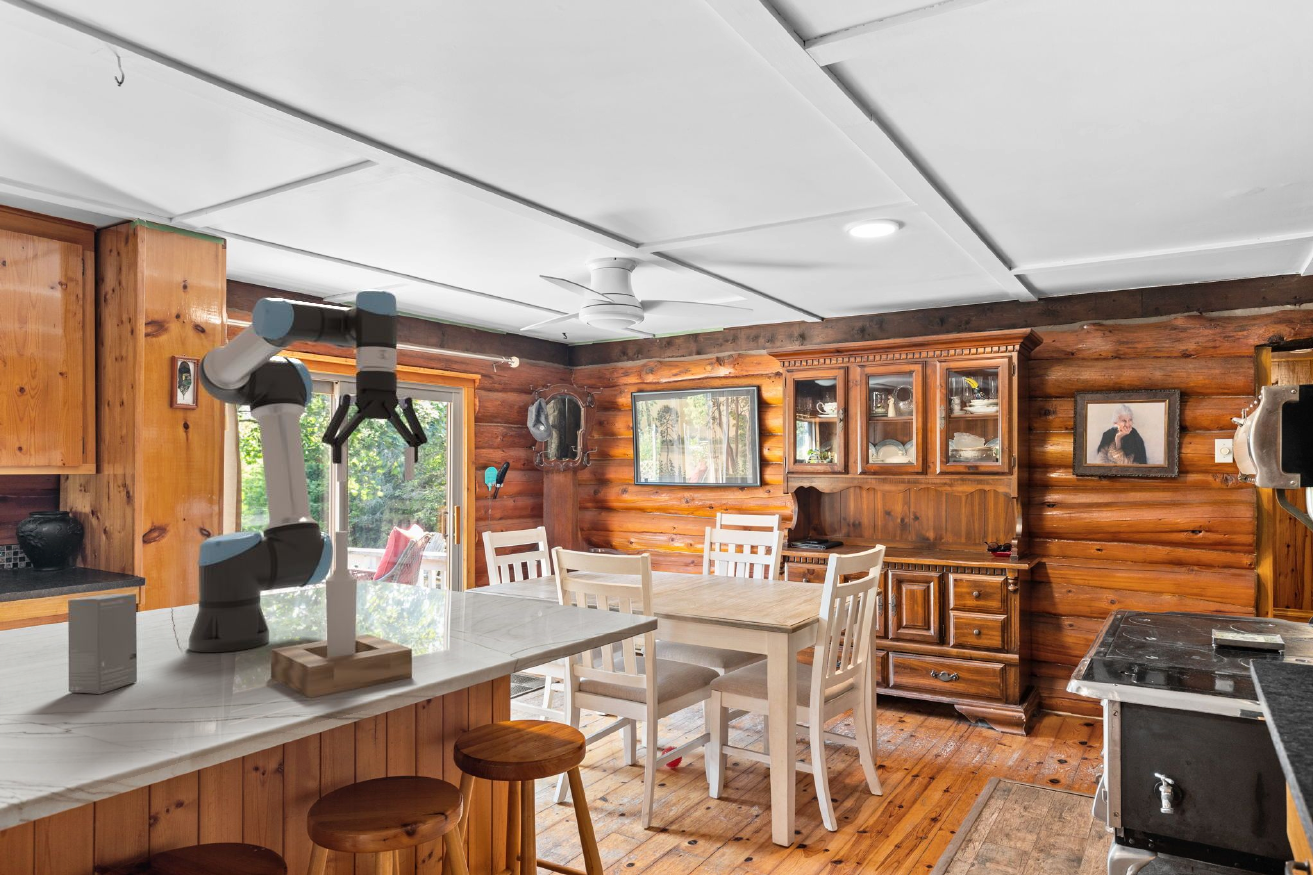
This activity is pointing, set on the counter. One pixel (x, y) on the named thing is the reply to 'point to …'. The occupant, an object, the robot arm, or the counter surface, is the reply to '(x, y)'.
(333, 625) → the bottle
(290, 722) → the counter surface
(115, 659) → the skincare box
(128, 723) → the counter surface
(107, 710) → the counter surface
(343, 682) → the frame
